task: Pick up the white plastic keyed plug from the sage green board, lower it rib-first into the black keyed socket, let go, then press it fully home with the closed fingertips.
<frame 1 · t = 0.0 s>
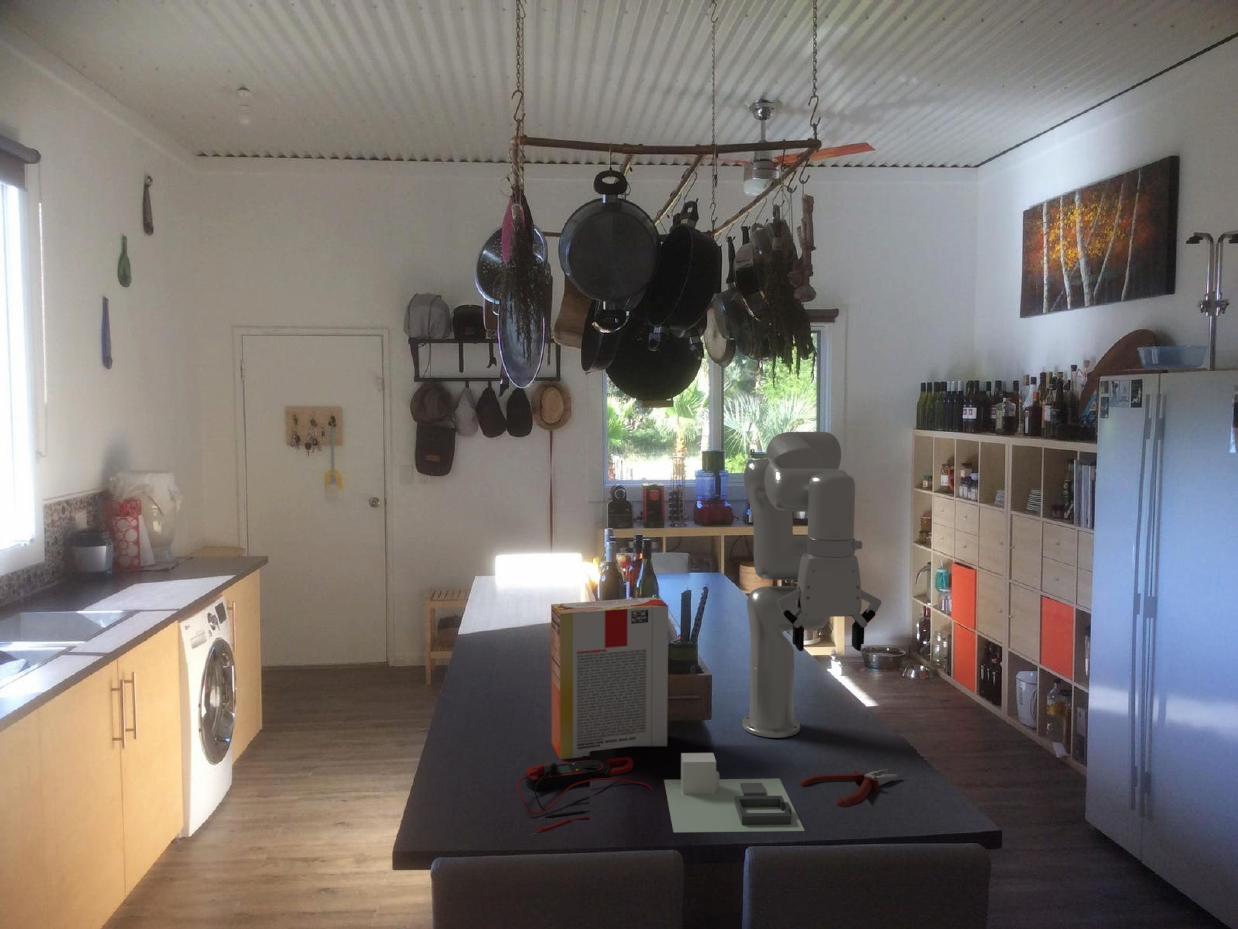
hand: (827, 648, 149), 31 cm above the table, tool pointing down, fingers open, 9 cm apart
digital clamp meter: (584, 799, 164), on the table
pliers: (859, 796, 165), on the table
cereal box: (609, 746, 187), on the table
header: (762, 814, 155), resting on board
plug: (698, 789, 164), point 1 cm above the table, touching board
board: (729, 809, 158), on the table
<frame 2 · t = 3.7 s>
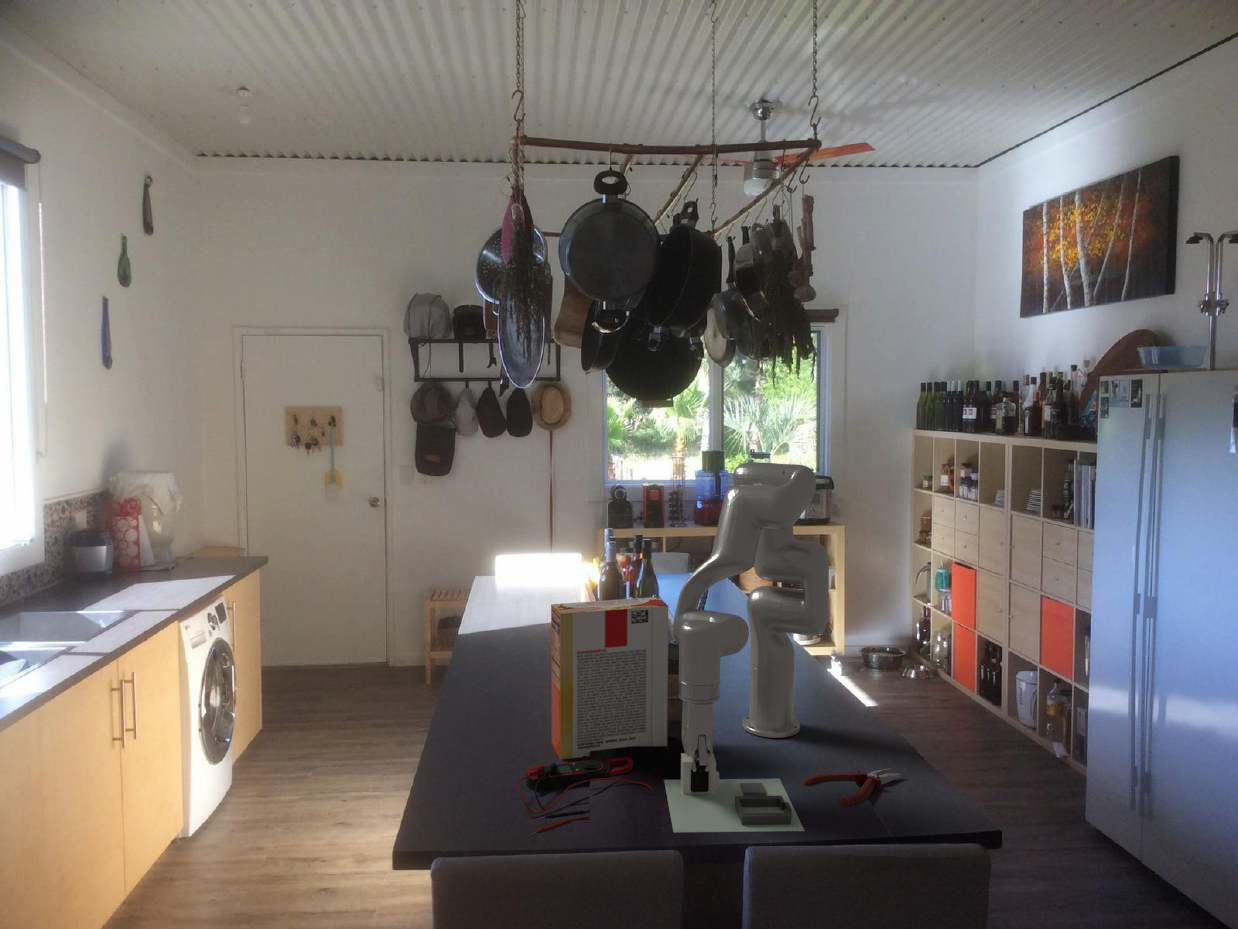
hand: (698, 784, 164), 2 cm above the table, tool pointing down, fingers closed on plug, 3 cm apart
plug: (698, 789, 164), point 1 cm above the table, touching board, gripper
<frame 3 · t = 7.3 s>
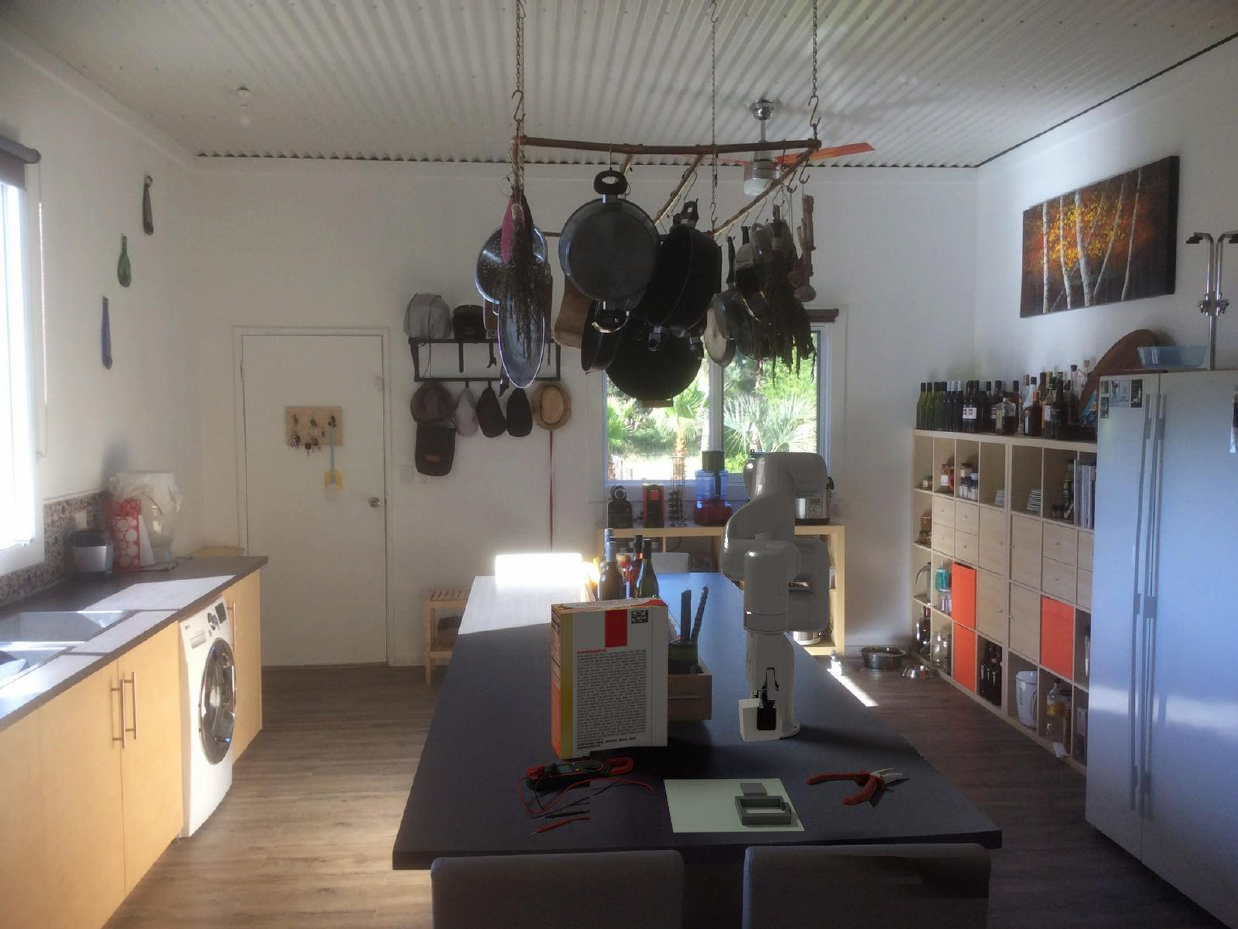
hand: (763, 723, 153), 17 cm above the table, tool pointing down, fingers closed on plug, 3 cm apart
plug: (759, 736, 153), point 15 cm above the table, touching gripper
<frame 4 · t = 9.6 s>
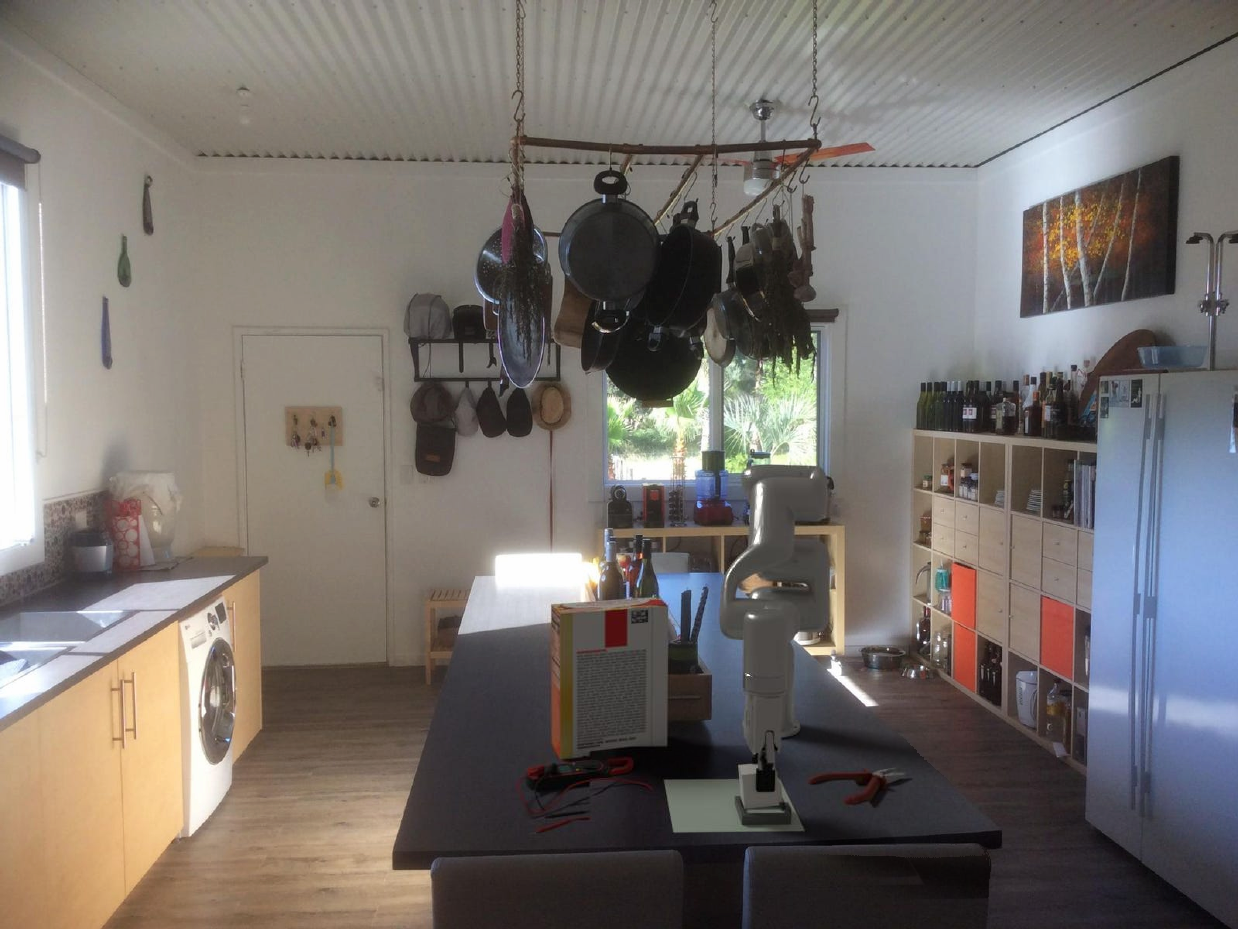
hand: (762, 784, 154), 6 cm above the table, tool pointing down, fingers closed on plug, 3 cm apart
plug: (759, 801, 154), point 3 cm above the table, touching gripper
when the fingers open (3 cm above the table, at t = 11.1 s): plug stays where it is, resting on board.
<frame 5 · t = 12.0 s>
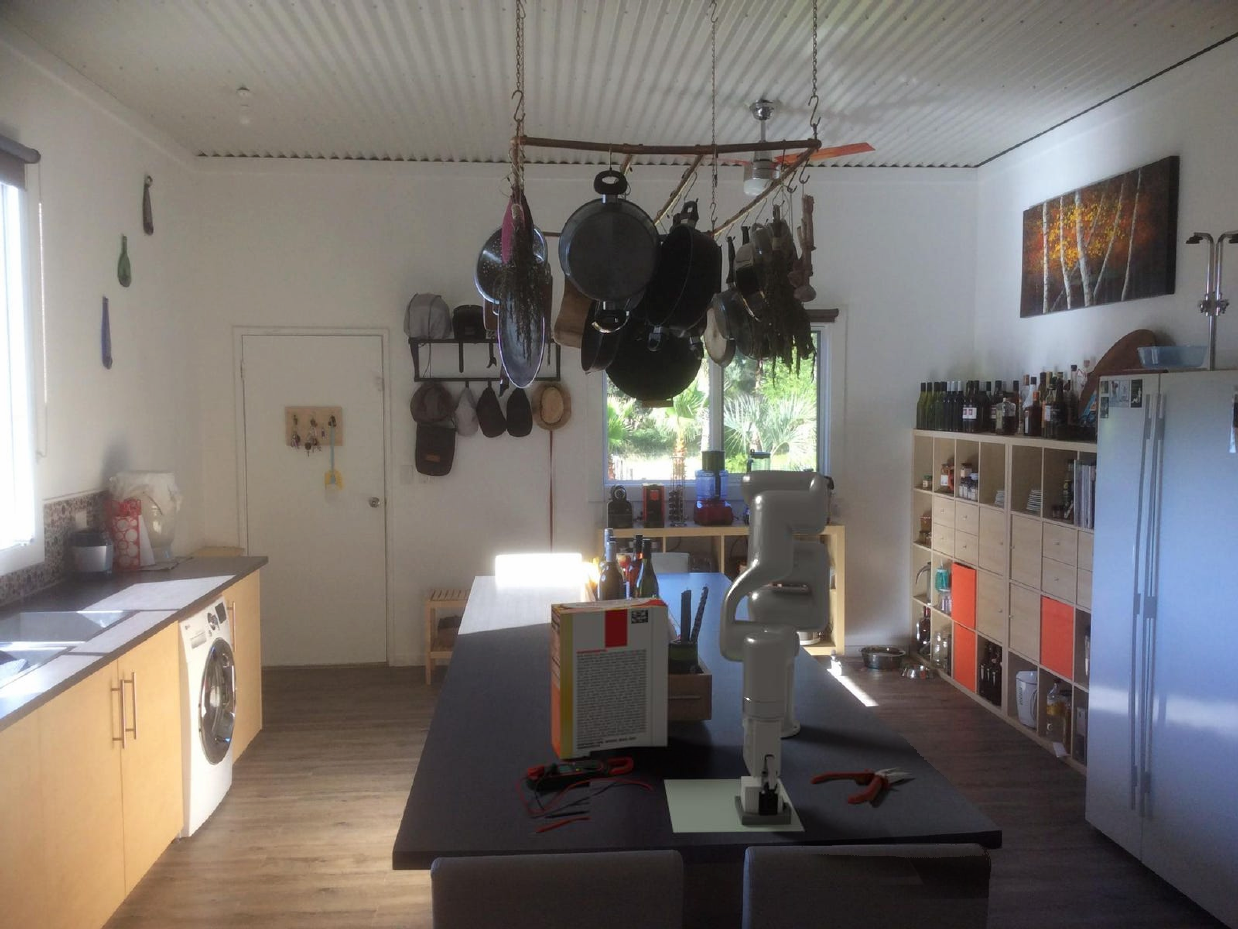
hand: (762, 801, 154), 3 cm above the table, tool pointing down, fingers open, 9 cm apart
plug: (759, 814, 154), point 1 cm above the table, touching board
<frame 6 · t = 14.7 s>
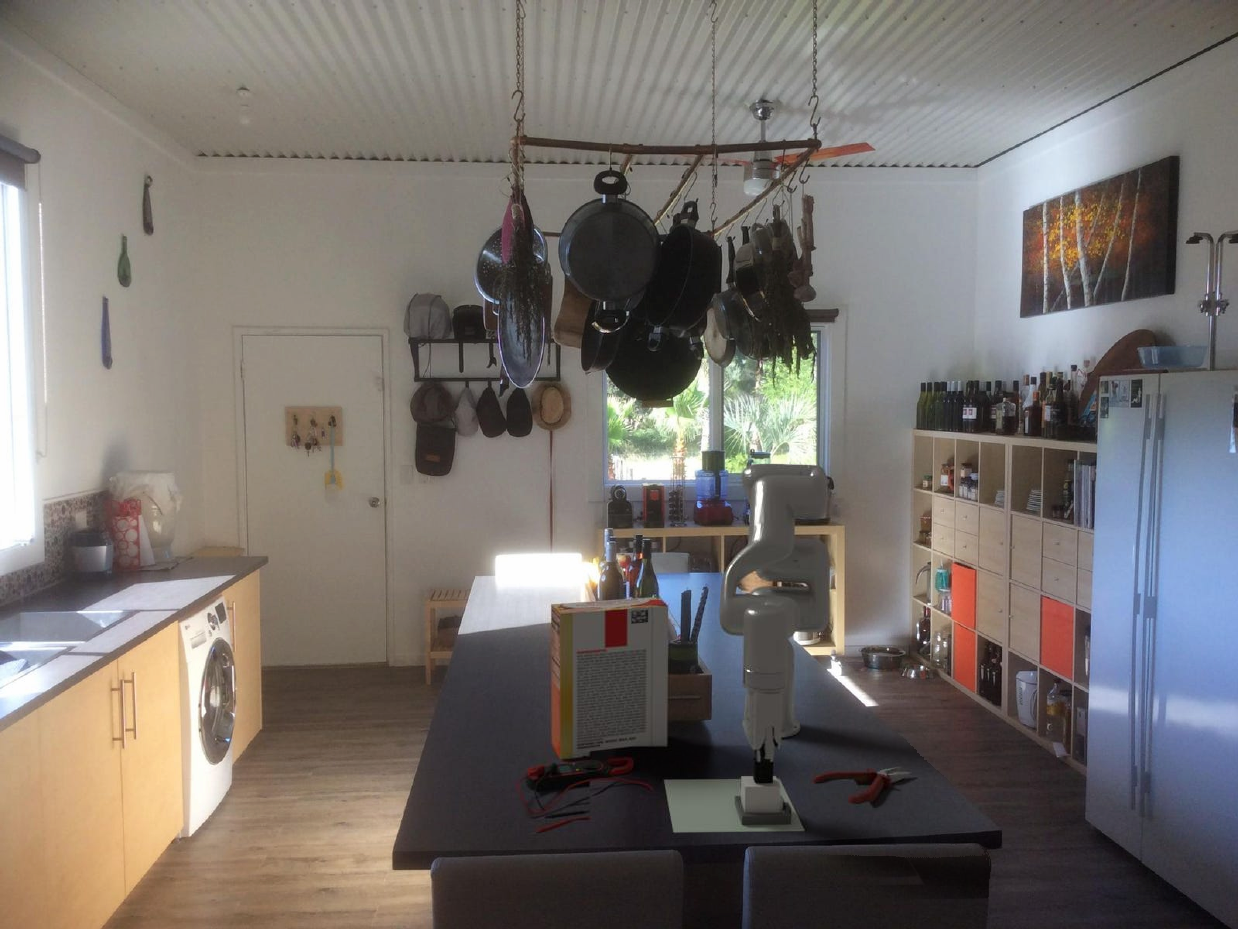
hand: (762, 781, 154), 7 cm above the table, tool pointing down, fingers closed
plug: (759, 814, 154), point 1 cm above the table, touching board, gripper
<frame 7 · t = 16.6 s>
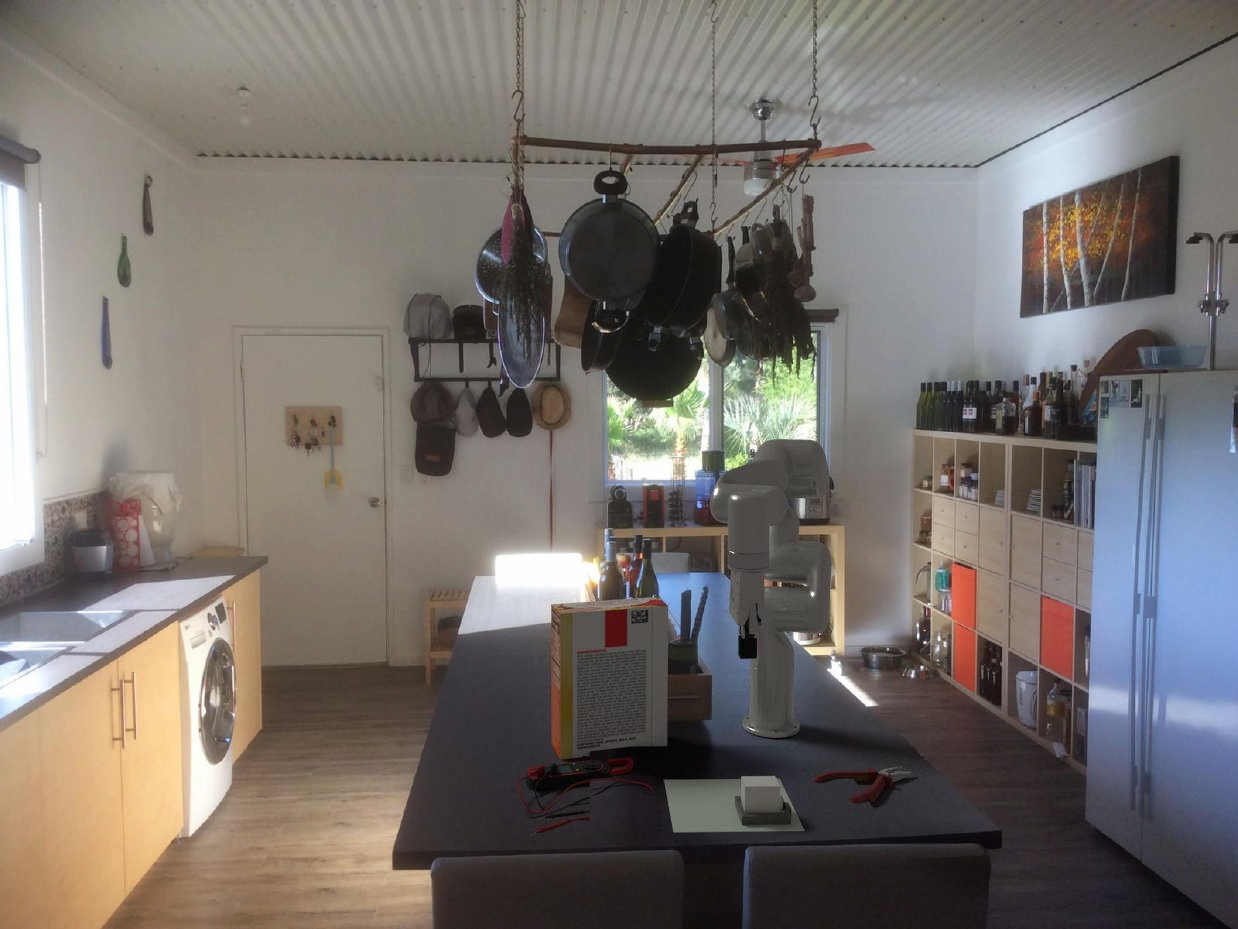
hand: (747, 657, 163), 26 cm above the table, tool pointing down, fingers closed
plug: (759, 814, 154), point 1 cm above the table, touching board
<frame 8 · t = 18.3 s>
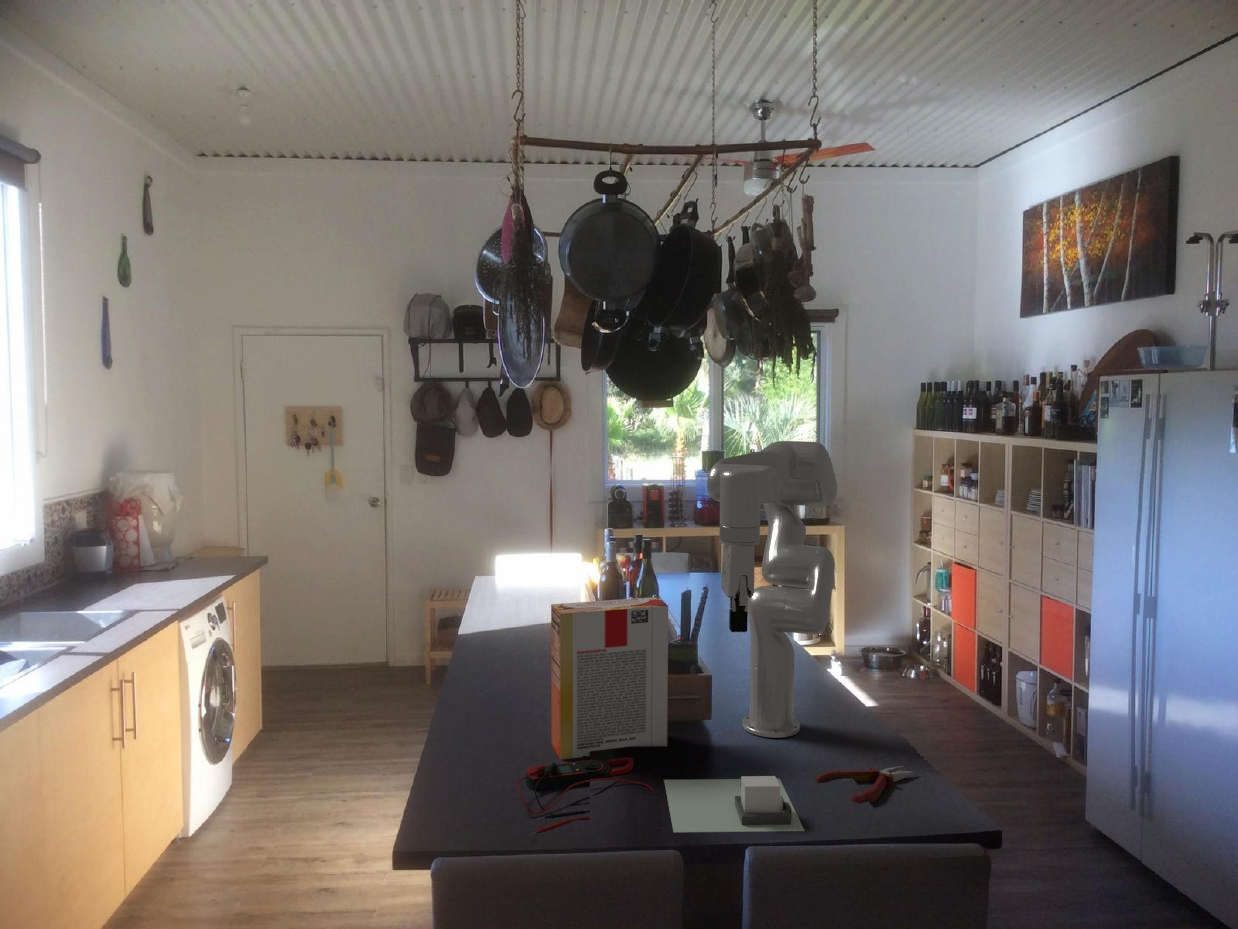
hand: (738, 630, 168), 29 cm above the table, tool pointing down, fingers closed
at the end: plug 0.5 cm off-centre on the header, point 0.0 cm above the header's base; plug tilted 0°; the gripper is holding nothing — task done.
